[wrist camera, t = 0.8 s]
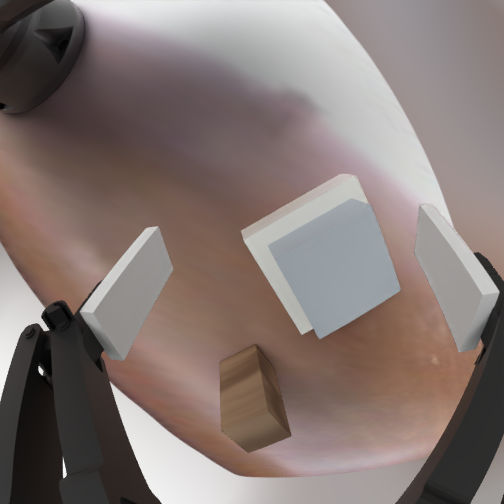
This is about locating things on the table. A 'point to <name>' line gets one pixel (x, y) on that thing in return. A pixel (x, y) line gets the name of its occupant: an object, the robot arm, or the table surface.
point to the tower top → (337, 266)
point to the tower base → (291, 220)
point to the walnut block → (251, 401)
